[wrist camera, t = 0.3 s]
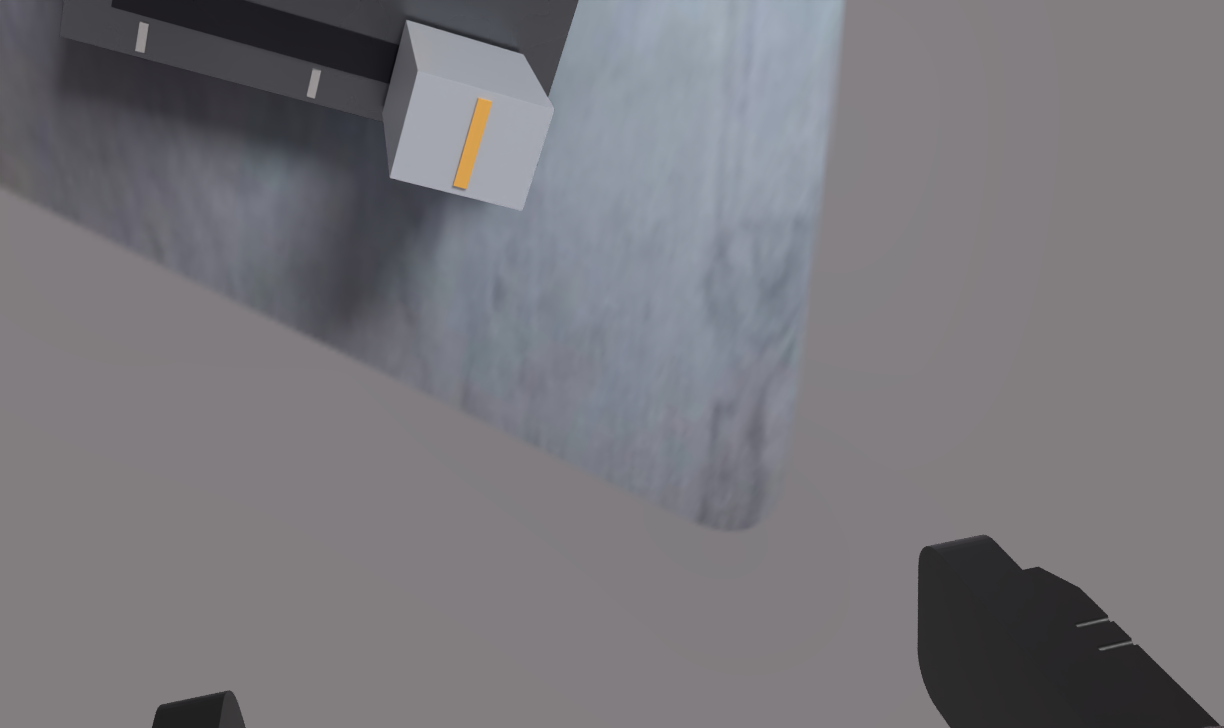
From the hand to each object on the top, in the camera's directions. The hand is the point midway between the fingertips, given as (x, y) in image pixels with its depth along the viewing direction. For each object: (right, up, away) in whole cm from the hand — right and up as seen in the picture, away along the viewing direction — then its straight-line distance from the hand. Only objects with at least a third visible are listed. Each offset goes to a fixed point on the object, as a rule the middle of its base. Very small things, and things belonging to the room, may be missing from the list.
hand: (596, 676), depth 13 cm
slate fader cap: (-4, +11, +15) cm, 19 cm away
